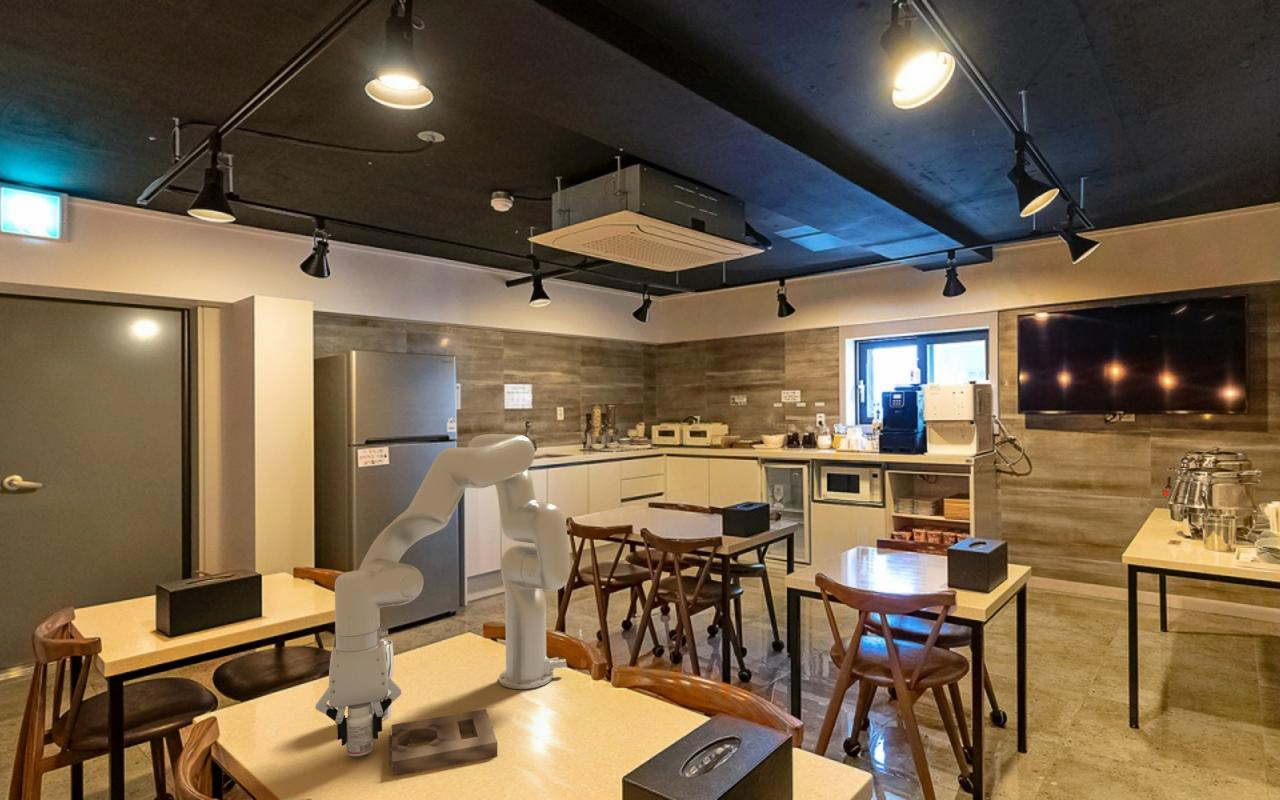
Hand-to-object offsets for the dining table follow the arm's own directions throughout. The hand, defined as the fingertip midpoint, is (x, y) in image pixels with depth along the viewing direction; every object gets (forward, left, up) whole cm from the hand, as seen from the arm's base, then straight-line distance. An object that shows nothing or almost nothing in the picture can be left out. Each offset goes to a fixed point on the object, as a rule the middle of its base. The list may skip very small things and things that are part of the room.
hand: (360, 738), depth 120 cm
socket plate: (-14, +2, -3) cm, 15 cm away
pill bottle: (0, 0, -2) cm, 2 cm away
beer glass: (-2, -17, -3) cm, 17 cm away
